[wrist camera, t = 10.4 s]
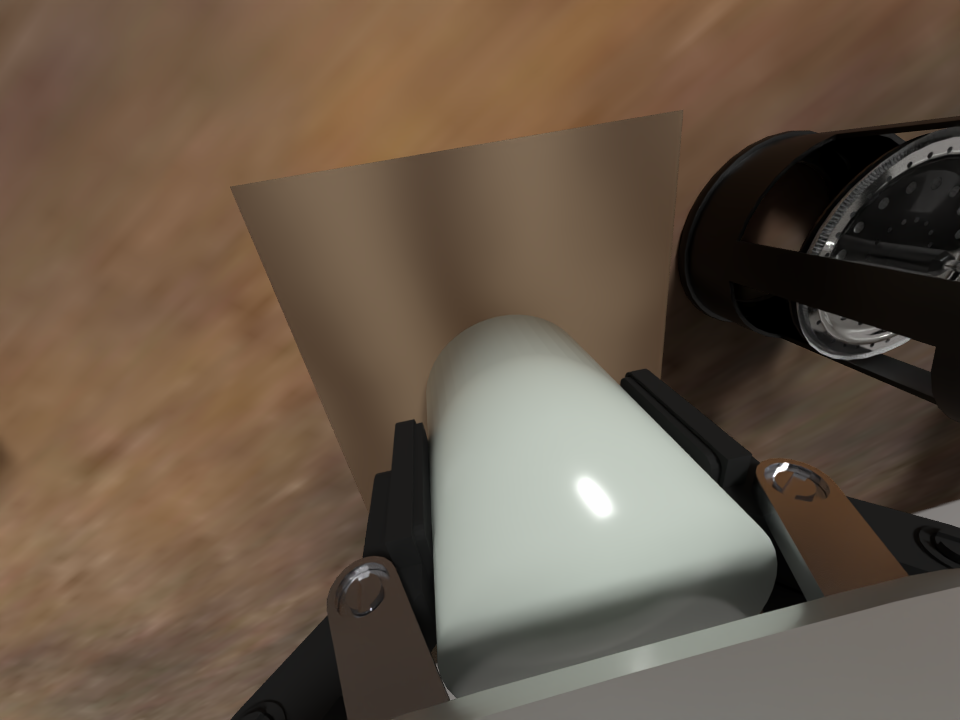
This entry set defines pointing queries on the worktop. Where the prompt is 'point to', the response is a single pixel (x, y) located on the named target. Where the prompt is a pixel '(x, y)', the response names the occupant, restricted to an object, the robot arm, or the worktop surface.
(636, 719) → the robot arm
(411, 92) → the worktop surface
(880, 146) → the french press
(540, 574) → the white rounded capsule
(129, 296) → the worktop surface
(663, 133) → the brown wooden block
